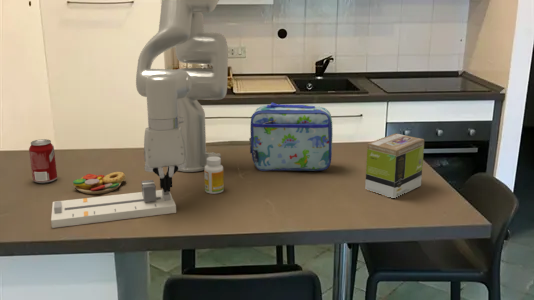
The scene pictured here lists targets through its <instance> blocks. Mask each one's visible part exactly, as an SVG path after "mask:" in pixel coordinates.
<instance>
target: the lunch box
mask: <svg viewBox="0 0 534 300" xmlns="http://www.w3.org/2000/svg"><path fill="white" fill-rule="evenodd" d="M332 153H333V119H332V114H331V112H330V110H329V109H327V108H326V107H323V106H320V105H313V104H310V105H309V104H282V103H281V104H277V103H276V102H271V103H270V104H264V105H260V106H258V107H257V108H256V109H255V111H254V112H253V113H252V114H251V118H250V137H249V154H251V159H252V162H253V164H254V167H255V168H256V169H257V170H259V171H260V172H261V171H263V172H266V171H293V172H294V171H297V172H299V171H301V172H302V171H303V172H304V171H305V172H306V171H311V172H313V171H317V172H319V171H320V172H321V171H325V170H327V169H329V167H330V166H331V163H332V155H333V154H332Z"/></svg>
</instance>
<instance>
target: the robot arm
mask: <svg viewBox="0 0 534 300" xmlns="http://www.w3.org/2000/svg"><path fill="white" fill-rule="evenodd" d="M219 1H220V0H161V5H160V16H159V25H158V31H157V33H156V34H154V35H153V36H152V37H151V38H150V39H149V40H148V42H147V43H145V46H144V47H143V48H142V50H141V51H140V54H139V56H138V60H137V67H136V76H135V86H136V90H137V93H138V94H139V95H140V96H141V97H144V98H146V108H147V109H146V110H147V124H148V125H147V127H146V128H145V130H144V137H143V138H144V139H143V155H144V163H145V164H144V166H143V167H144V171H145V172H146V173H147V172H148V173H154V174H156V175H157V176H158V177H159V187H160V189H162V190H163V191H164V192H167V191H168V192H170V193H171V188H173V177H174V175H175V174H176V173H177V172H184V173H196V172H202V171H204V168H205V166H206V165H208V164H207V158H208V157H220V158H221V159H222V156H221V153H220V152H219V153H215V151H214V152H208V151H207V145H206V141H207V140H206V139H207V138H206V134H207V133H206V112H205V110H204V107H203V106H202V104H201V103H200V102H199V101H198V100H204V101H205V100H207V101H209V100H211V101H218V100H223V99H224V98H225V97H226V96H227V92H228V70H229V68H228V66H229V65H228V62H229V61H228V60H229V58H228V57H229V50H228V49H229V48H228V42H227V39H226V37H225V36H224V35H223V34H222V33H220V32H205V31H204V29H205V28H204V24H205V23H204V20H205V18H204V15H203V13H211V12H214V10H215V9H216V7H217V5H218V3H219ZM173 48H174V49H175V57H176V60H178V62H179V63H183V64H193V65H196V64H197V65H209V66H211V67H212V68H202V67H200V68H199V67H183V68H177V69H172V68H171V69H167V68H165V69H164V68H152V64H153V63H154V61H155V60H156V58H157V57H159V56H160V55H161V54H163V53H164V52H167V51H168V50H171V49H173ZM164 168H167V170H166V174H165V172H164Z"/></svg>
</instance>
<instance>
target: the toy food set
mask: <svg viewBox="0 0 534 300" xmlns="http://www.w3.org/2000/svg"><path fill="white" fill-rule="evenodd" d="M125 180H126V174H125V173H124V172H123V171H115V172H114V171H113V172H111V173H108V174H106V175H103V174H98V175H97V174H92V173H87V174H86V175H83V176H82V177H81V178H77V179H74V180H73V181H72V183H73V186H75V189H76V190H77V191H78V192H80V193H84V194H88V195H96V194H97V195H99V194H106V193H109V192H112V191H115V190H117V189H118V188H119V187H120V186H121V184H122V182H123V181H125Z"/></svg>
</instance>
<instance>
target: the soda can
mask: <svg viewBox="0 0 534 300" xmlns="http://www.w3.org/2000/svg"><path fill="white" fill-rule="evenodd" d="M28 152H29V160H30V167H31V176H32V181H33V182H35V183H38V184H49V183H52V182H54V181H55V180H57V179H58V172H57V171H58V169H57V162H56V154H55V147H54V145H53V144H52V140H50V139H47V138H46V139H45V138H44V139H35V140H32V141H31V142H30V146H29V147H28Z"/></svg>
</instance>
